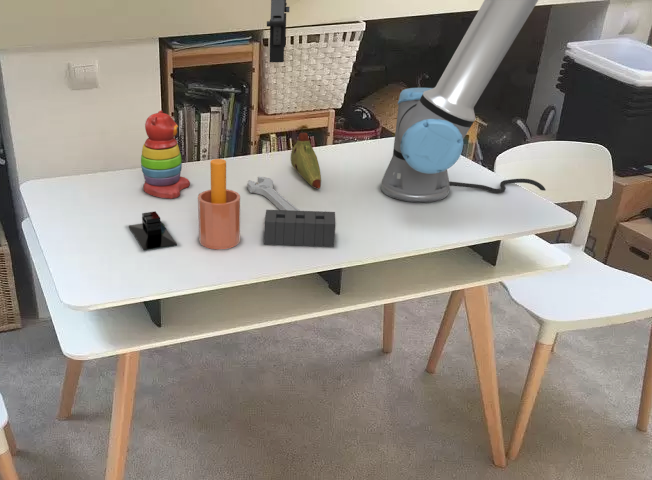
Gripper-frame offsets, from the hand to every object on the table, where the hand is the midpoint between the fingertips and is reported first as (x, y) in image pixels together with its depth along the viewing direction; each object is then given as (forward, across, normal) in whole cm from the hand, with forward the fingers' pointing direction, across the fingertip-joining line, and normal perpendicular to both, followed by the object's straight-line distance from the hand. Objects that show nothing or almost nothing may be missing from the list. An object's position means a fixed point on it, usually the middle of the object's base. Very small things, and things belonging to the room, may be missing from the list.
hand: (277, 54), depth 152 cm
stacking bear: (+32, -9, -26) cm, 43 cm away
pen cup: (+32, +18, -10) cm, 39 cm away
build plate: (+32, +17, -24) cm, 44 cm away
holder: (+32, +17, +6) cm, 37 cm away
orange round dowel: (+32, +18, -10) cm, 38 cm away
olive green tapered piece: (+33, -18, +7) cm, 38 cm away
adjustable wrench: (+33, -2, 0) cm, 33 cm away
